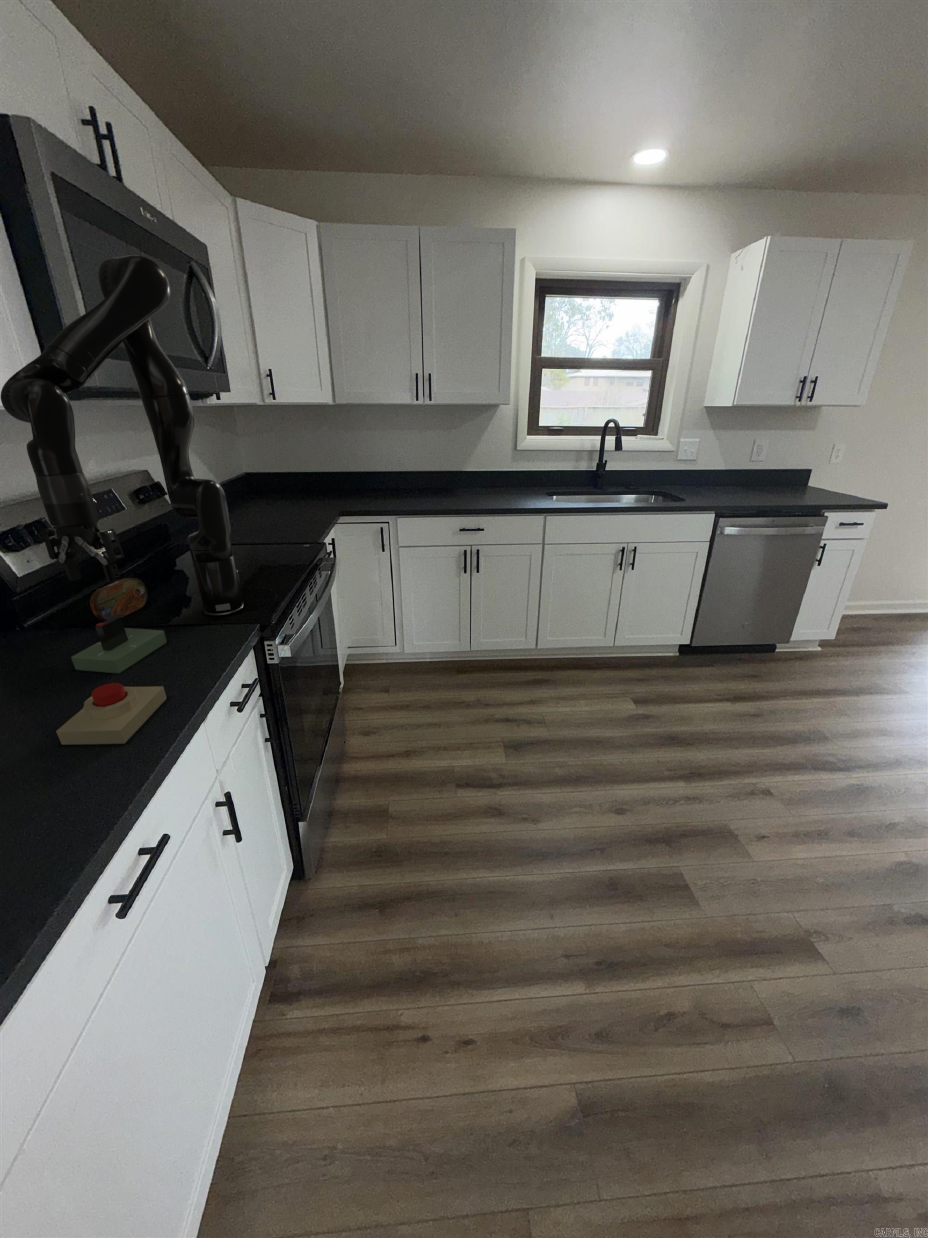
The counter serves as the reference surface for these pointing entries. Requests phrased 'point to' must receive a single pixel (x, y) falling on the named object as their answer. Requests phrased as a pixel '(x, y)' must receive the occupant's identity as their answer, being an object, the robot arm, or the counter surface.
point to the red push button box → (112, 718)
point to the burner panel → (120, 652)
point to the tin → (119, 598)
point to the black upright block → (111, 633)
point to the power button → (108, 694)
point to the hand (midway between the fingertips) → (94, 580)
